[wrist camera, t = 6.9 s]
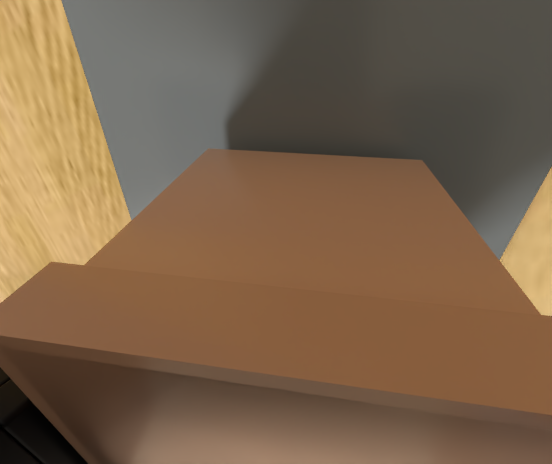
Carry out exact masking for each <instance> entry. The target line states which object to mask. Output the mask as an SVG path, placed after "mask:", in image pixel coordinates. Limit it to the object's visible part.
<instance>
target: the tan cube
mask: <svg viewBox="0 0 552 464" xmlns="http://www.w3.org/2000/svg"><path fill="white" fill-rule="evenodd" d="M0 367H1V368H2V370H3V371H4V372H5V373H6V374H7V375H8V376H9V377H10V378H11V379H12V381H13V382H14V383H15V384H16V385H17V386H18V387H19V388H20V389H21V390H22V391H23V393H24V394H25V395H26V396H27V397H28V398H29V399H30V400H31V401H32V402H33V404H34V405H35V406H36V407H37V408H38V409H39V410H40V411H41V412H42V413H43V415H44V416H45V417H46V418H47V419H48V420H49V421H50V422H51V423H52V424H53V426H54V427H55V428H56V429H57V430H58V431H59V432H60V433H61V434H62V435H63V437H64V438H65V439H66V440H67V441H68V442H69V443H70V444H71V445H72V446H73V447H74V449H75V450H76V451H77V452H78V453H79V454H80V455H81V456H82V457H83V458H84V460H85V461H86V462H87V463H88V464H552V316H544V315H541V314H540V313H539V312H538V310H537V309H536V308H535V306H534V305H533V304H532V302H531V301H530V300H529V299H528V297H527V296H526V295H525V293H524V292H523V291H522V289H521V288H520V287H519V286H518V284H517V283H516V282H515V280H514V279H513V278H512V276H511V275H510V274H509V273H508V271H507V270H506V269H505V267H504V266H503V265H502V263H501V262H500V261H499V259H498V258H497V257H496V256H495V254H494V253H493V252H492V250H491V249H490V248H489V246H488V245H487V244H486V243H485V241H484V240H483V239H482V237H481V236H480V235H479V233H478V232H477V231H476V230H475V228H474V227H473V226H472V224H471V223H470V222H469V220H468V219H467V218H466V216H465V215H464V214H463V213H462V211H461V210H460V209H459V207H458V206H457V205H456V203H455V202H454V201H453V200H452V198H451V197H450V196H449V194H448V193H447V192H446V190H445V189H444V188H443V187H442V185H441V184H440V183H439V181H438V180H437V179H436V177H435V176H434V175H433V173H432V172H431V171H430V170H429V168H428V167H427V166H426V164H425V163H424V162H423V160H412V159H394V158H375V157H357V156H339V155H320V154H302V153H283V152H265V151H247V150H228V149H210V148H208V149H207V150H206V151H205V152H204V153H203V154H202V155H201V156H200V157H199V158H198V159H196V160H195V161H194V162H193V163H192V164H191V165H190V166H189V167H188V168H187V169H186V170H185V171H184V172H183V173H182V174H181V175H179V176H178V177H177V178H176V179H175V180H174V181H173V182H172V183H171V184H170V185H169V186H168V187H167V188H166V189H165V190H164V191H162V192H161V193H160V194H159V195H158V196H157V197H156V198H155V199H154V200H153V201H152V202H151V203H150V204H149V205H148V206H147V207H145V208H144V209H143V210H142V211H141V212H140V213H139V214H138V215H137V216H136V217H135V218H134V219H133V220H132V221H131V222H130V223H128V224H127V225H126V226H125V227H124V228H123V229H122V230H121V231H120V232H119V233H118V234H117V235H116V236H115V237H114V238H113V239H111V240H110V241H109V242H108V243H107V244H106V245H105V246H104V247H103V248H102V249H101V250H100V251H99V252H98V253H97V254H96V255H94V256H93V257H92V258H91V259H90V260H89V261H88V262H87V263H86V264H85V265H75V264H66V263H56V262H51V263H49V264H48V265H47V266H46V267H44V268H43V269H42V270H41V271H40V272H38V273H37V274H36V275H35V276H33V277H32V278H31V279H30V280H29V281H27V282H26V283H25V284H24V285H22V286H21V287H20V288H19V289H17V290H16V291H15V292H14V293H13V294H11V295H10V296H9V297H8V298H6V299H5V300H4V301H3V302H2V303H0Z"/></svg>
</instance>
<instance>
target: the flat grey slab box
mask: <svg viewBox="0 0 552 464" xmlns="http://www.w3.org/2000/svg"><path fill="white" fill-rule="evenodd" d="M62 3H63V7H64V10H65V13H66V16H67V19H68V22H69V25H70V29H71V32H72V35H73V38H74V41H75V44H76V47H77V50H78V54H79V57H80V60H81V63H82V66H83V69H84V72H85V76H86V79H87V82H88V85H89V88H90V91H91V94H92V98H93V101H94V104H95V107H96V110H97V113H98V116H99V119H100V123H101V126H102V129H103V132H104V135H105V138H106V141H107V145H108V148H109V151H110V154H111V157H112V160H113V163H114V166H115V170H116V173H117V176H118V179H119V182H120V185H121V188H122V192H123V195H124V198H125V201H126V204H127V207H128V210H129V213H130V217H131V220H133V219H134V218H135V217H136V216H137V215H138V214H139V213H140V212H141V211H142V210H143V209H144V208H145V207H147V206H148V205H149V204H150V203H151V202H152V201H153V200H154V199H155V198H156V197H157V196H158V195H159V194H160V193H161V192H162V191H164V190H165V189H166V188H167V187H168V186H169V185H170V184H171V183H172V182H173V181H174V180H175V179H176V178H177V177H178V176H179V175H181V174H182V173H183V172H184V171H185V170H186V169H187V168H188V167H189V166H190V165H191V164H192V163H193V162H194V161H195V160H196V159H198V158H199V157H200V156H201V155H202V154H203V153H204V152H205V151H206V150H207V149H208V148H210V149H228V150H247V151H265V152H283V153H302V154H320V155H339V156H357V157H375V158H394V159H412V160H423V162H424V163H425V164H426V166H427V167H428V168H429V170H430V171H431V172H432V173H433V175H434V176H435V177H436V179H437V180H438V181H439V183H440V184H441V185H442V187H443V188H444V189H445V190H446V192H447V193H448V194H449V196H450V197H451V198H452V200H453V201H454V202H455V203H456V205H457V206H458V207H459V209H460V210H461V211H462V213H463V214H464V215H465V216H466V218H467V219H468V220H469V222H470V223H471V224H472V226H473V227H474V228H475V230H476V231H477V232H478V233H479V235H480V236H481V237H482V239H483V240H484V241H485V243H486V244H487V245H488V246H489V248H490V249H491V250H492V252H493V253H494V254H495V256H496V257H497V258H498V259H499V260H500V258H501V256H502V254H503V253H504V251H505V249H506V247H507V245H508V244H509V242H510V240H511V238H512V236H513V235H514V233H515V231H516V229H517V227H518V226H519V224H520V222H521V220H522V219H523V217H524V215H525V213H526V211H527V210H528V208H529V206H530V204H531V202H532V201H533V199H534V197H535V195H536V193H537V192H538V190H539V188H540V186H541V185H542V183H543V181H544V179H545V177H546V176H547V174H548V172H549V170H550V168H551V167H552V0H62Z"/></svg>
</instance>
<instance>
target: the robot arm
mask: <svg viewBox="0 0 552 464" xmlns="http://www.w3.org/2000/svg"><path fill="white" fill-rule="evenodd" d="M0 464H88V463H87V462H86V461H85V460H84V458H83V457H82V456H81V455H80V454H79V453H78V452H77V451H76V450H75V449H74V447H73V446H72V445H71V444H70V443H69V442H68V441H67V440H66V439H65V438H64V437H63V435H62V434H61V433H60V432H59V431H58V430H57V429H56V428H55V427H54V426H53V424H52V423H51V422H50V421H49V420H48V419H47V418H46V417H45V416H44V415H43V413H42V412H41V411H40V410H39V409H38V408H37V407H36V406H35V405H34V404H33V402H32V401H31V400H30V399H29V398H28V397H27V396H26V395H25V394H24V393H23V391H22V390H21V389H20V388H19V387H18V386H17V385H16V384H15V383H14V382H13V381H12V379H11V378H10V377H9V376H8V375H7V374H6V373H5V372H4V371H3V370H2V368H1V367H0Z"/></svg>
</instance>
